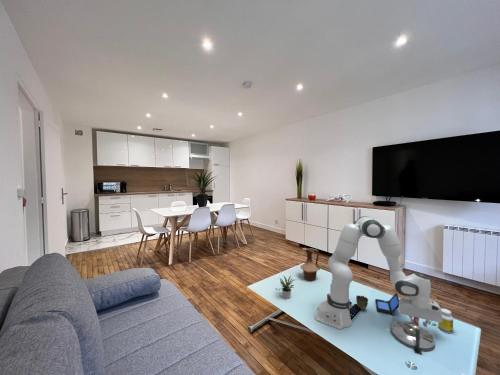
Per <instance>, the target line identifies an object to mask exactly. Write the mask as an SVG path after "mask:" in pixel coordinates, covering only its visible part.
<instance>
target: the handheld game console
mask: <svg viewBox="0 0 500 375" xmlns="http://www.w3.org/2000/svg"><path fill="white" fill-rule="evenodd" d="M399 299H400V298H399V295H398V292H395V293H394V295H393V296H392V297H391V298H390V299H389V300H383V299H379V298H375V300H374V302H375V307H376V308H375V309H376V312H377V313H380V314H385V315H390V316H394V313H395V312H396V311H397V310H398V308H399Z"/></svg>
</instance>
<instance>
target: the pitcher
mask: <svg viewBox="0 0 500 375" xmlns="http://www.w3.org/2000/svg"><path fill="white" fill-rule="evenodd" d="M301 250H302V251H304V252H306V261H305V262H304V263H302V264H301V265H300V269H301V270H302V272H303V279H304V280H305V281H308V282H314V281H316V280H317V273H318V271H320V270H321V268H320V266H319V264H318V261H319V256H320V252H319V250H317V249H316V248H315V249H314V248H311V247H310V248H307V247H303V248H301ZM314 252H316V258H315V263H314V261H313V257H312V255H313V254H314Z"/></svg>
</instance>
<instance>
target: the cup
mask: <svg viewBox="0 0 500 375" xmlns="http://www.w3.org/2000/svg"><path fill="white" fill-rule="evenodd" d="M355 299H356V300H355V301H356V304H357V307H358V308H359V307H360V308H361V311H365V310H366V308H367V307H368V304H369V303H368V302H369V299H368V297H366V296H364V295H356V296H355Z"/></svg>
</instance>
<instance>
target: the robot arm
mask: <svg viewBox="0 0 500 375" xmlns="http://www.w3.org/2000/svg"><path fill="white" fill-rule="evenodd" d="M362 236H366V237H368V238H370V239H372V238H373V239H376V240H377V243H378V245H379V248H380V251H381V253H382V254H383V256H384V257H385V259H386V262H387V266H388V269H389V273H388V281H390V283H391V284H392V286H393V287H394V289H395V291H396V293H397V294H399V295H402V296H405V297H406V296H407V297H410V299H408V298H404V297H401V298H399V307H398V308H397V310H398V312H399V314H400V315H405V316H408V317H409V320H410V322H411V323H413V324H415V321H414V317H417V318H419V319H421V320H424V321H422V325H423V327H428V324H430V322H435V323H438V322H439V323H441V322H442V313H441V309H442V308H441V307H440V305H439V304H438V302H436V301H434V300H433V299H431V297H430V295H431V293H432V292H431V291H432V285H431V280H430V278H429V277H428V276H426V275H424V274H422V273H419V272H414V273H412V274H409V275H407V274H406V273H405V272H404V271H403V270H402V267H401V265H400V261H399V257H400V256H402V253H403V250H402V244H401V241H400V239H399V236H398V234H397V232H396V230H395V229H394V227H393V226H392V225H388V224H381V223H380V222H379V221H377V220H375V218H373V217H370V216H365V215H364V216H360V217H359V218H358V219H357V220H355V221H354V222H353V223H352V222H351V223H346V224H345V225H344V227H343V229H342V230H341V232H340V235H339V238H338V242H337V245H336V247H335V250H334V251H333V253H332V255H331V256H330V257H329V258H328V260H327V265H328V266H327V267H328V269H329V271H330V273H331V276H332V278H331V283H330V285H329V288H330V290H329V292H330V293H327V294H326V300H325V301H322V302H321V303H320V304H318V305H319V306H318V307H317V308H316V309H315V311H314V319H315V320H316V321H317V322H319V323H322V324H325V325H327V326H330V327H333V328H335V329H336V330H337V329H338V330H342V329H344V328H348V327H351V326H352V324H353V322H352V319H351V314H350V309H351V301H350V286H351V283H352V282H353V279H354V275H353V272H352V269H351V267H350V266H349V262H350V260H351V259H352V258H353V257H355V254H356V251H357V248H358V245H359V241H360V239H361V238H362Z"/></svg>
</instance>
